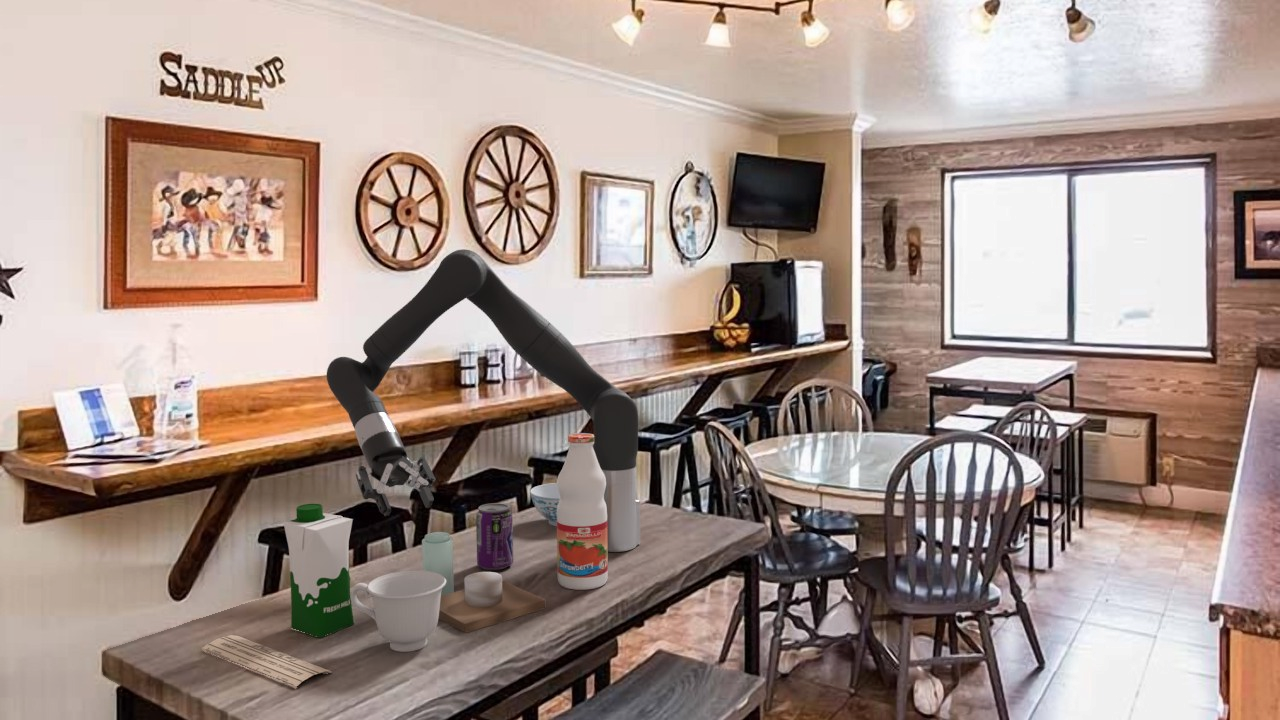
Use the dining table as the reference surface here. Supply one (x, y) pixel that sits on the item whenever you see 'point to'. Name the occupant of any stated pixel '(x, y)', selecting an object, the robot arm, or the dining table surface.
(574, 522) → the strawberry yogurt bottle
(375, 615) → the teacup
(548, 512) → the chinaware
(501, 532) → the beverage can
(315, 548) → the milk carton
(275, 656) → the newspaper
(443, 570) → the pale green cylinder
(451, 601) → the stud base
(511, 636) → the dining table surface
